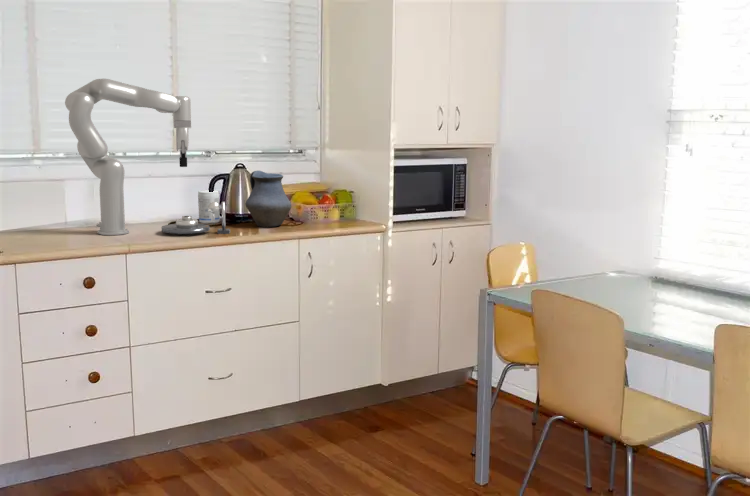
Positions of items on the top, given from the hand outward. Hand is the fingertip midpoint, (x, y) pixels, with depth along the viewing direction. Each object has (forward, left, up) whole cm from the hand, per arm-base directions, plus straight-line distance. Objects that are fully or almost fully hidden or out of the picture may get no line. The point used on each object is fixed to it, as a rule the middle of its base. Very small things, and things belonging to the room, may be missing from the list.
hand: (183, 166), depth 338 cm
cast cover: (+13, -12, -24) cm, 30 cm away
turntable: (+12, -12, -26) cm, 31 cm away
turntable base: (+12, -12, -27) cm, 32 cm away
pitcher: (+27, +25, -27) cm, 46 cm away
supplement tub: (-2, +18, -27) cm, 33 cm away
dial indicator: (+24, -3, -27) cm, 36 cm away
